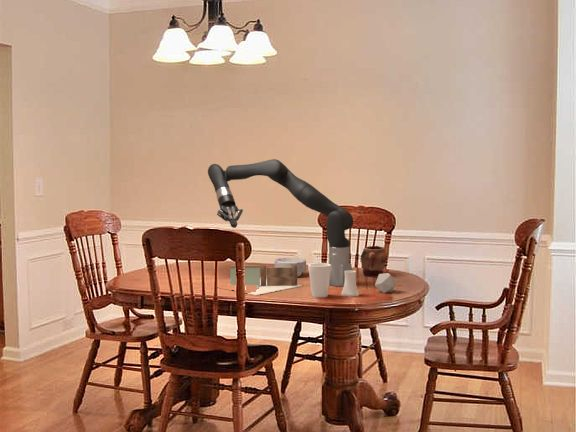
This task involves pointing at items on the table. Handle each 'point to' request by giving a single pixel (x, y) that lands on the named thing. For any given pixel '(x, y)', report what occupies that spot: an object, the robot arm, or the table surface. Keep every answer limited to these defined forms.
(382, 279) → the die
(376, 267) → the decorative planter
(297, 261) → the paper bowls
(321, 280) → the foam cup
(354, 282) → the salt shaker
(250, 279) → the green rectangular panel
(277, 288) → the card
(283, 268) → the fence post and fixed section
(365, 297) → the table surface
